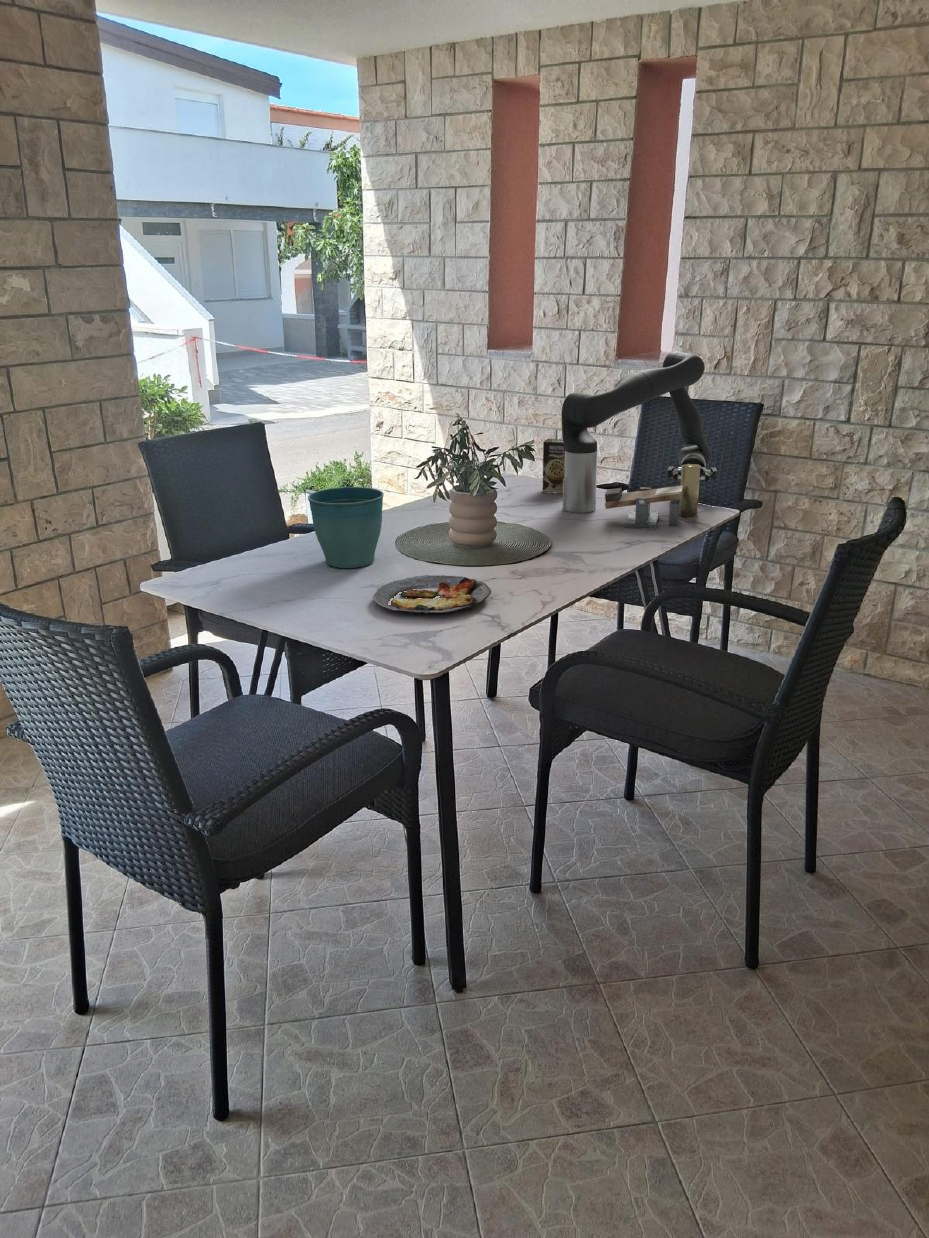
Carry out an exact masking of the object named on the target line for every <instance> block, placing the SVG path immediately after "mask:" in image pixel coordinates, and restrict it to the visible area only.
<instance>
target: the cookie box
mask: <svg viewBox="0 0 929 1238" xmlns="http://www.w3.org/2000/svg"><path fill="white" fill-rule="evenodd" d="M542 443H543V446H542V448H543V449H542V493H543V492H557V493H556V494H562V493H563V478H564V477H565V445H564V442H563V439H562V438H558V439H557V438H547V439H545V440H544V441H543V442H542Z"/></svg>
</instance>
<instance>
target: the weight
mask: <svg viewBox="0 0 929 1238" xmlns="http://www.w3.org/2000/svg"><path fill="white" fill-rule="evenodd" d="M699 478H700V465H697V464H684V465H682V471H681V479H680V485H681V486H683V488H682V492H681V497H680V508H679V516H680V515H681V517H685V518H693V517H697V516H698V506H699V491H700V479H699Z"/></svg>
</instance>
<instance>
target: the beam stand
mask: <svg viewBox="0 0 929 1238" xmlns="http://www.w3.org/2000/svg"><path fill="white" fill-rule="evenodd" d="M651 489H652V487H639V491H643V490H651ZM679 508H680V499H677V500H670V502H669V515H668V516H669V517H668V526H669V525H671V526H670V527H678V525H679V521H680V519H679V518H680V515H679ZM659 517H660V511H651V503H648V497H636V505H635V510H630V512H629V514H628V516H627V519H626V522H625V528H626V529H642V528H650V529H649V530H652V529H651V528H654V529H653V530H656V529H655V528H657V525H656V524H658V521H657V520H659Z"/></svg>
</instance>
